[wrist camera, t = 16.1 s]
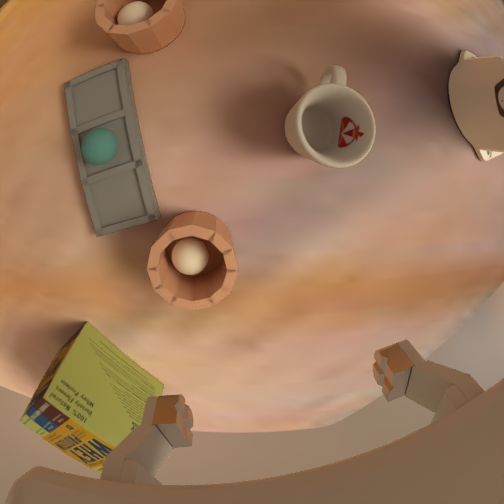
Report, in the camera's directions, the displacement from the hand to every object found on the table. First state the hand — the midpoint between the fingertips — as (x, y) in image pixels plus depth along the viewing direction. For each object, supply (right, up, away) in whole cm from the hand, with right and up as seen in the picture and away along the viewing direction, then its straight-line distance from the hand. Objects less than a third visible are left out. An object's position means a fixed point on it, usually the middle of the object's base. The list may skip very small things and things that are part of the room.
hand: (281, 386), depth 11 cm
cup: (+6, +21, +19) cm, 29 cm away
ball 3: (-8, +5, +20) cm, 22 cm away
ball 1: (-17, +16, +14) cm, 27 cm away
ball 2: (-14, +31, +10) cm, 35 cm away
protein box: (-23, -13, +27) cm, 38 cm away
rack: (-17, +17, +17) cm, 30 cm away
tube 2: (-8, +6, +22) cm, 24 cm away
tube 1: (-13, +32, +13) cm, 36 cm away
